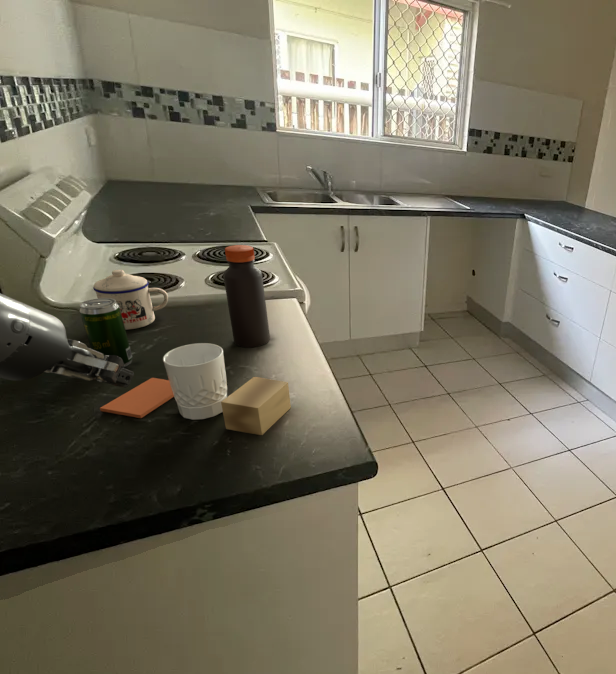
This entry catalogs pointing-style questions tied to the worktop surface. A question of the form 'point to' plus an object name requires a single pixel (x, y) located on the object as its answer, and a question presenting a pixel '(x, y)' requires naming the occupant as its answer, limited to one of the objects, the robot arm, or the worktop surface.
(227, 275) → the bottle
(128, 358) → the beer can
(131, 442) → the worktop surface
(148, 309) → the teacup with lid
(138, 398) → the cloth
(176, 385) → the white cup
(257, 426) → the beech block
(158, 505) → the worktop surface
